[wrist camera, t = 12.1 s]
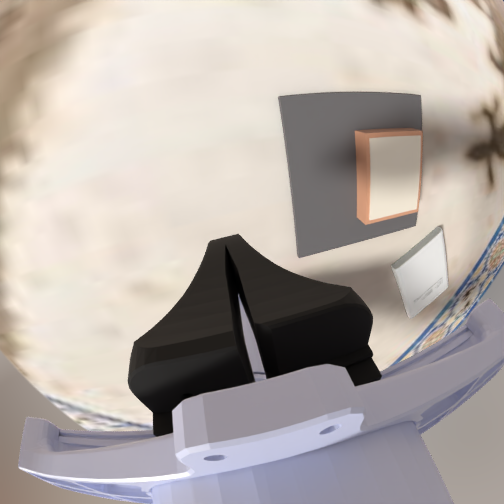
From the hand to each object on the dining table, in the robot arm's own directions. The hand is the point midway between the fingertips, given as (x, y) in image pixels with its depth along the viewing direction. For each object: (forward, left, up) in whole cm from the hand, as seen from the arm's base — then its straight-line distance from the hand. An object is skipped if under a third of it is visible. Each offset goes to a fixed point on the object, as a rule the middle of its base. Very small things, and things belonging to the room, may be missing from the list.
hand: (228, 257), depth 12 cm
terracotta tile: (-1, -12, -9) cm, 15 cm away
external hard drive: (-17, -24, -11) cm, 31 cm away
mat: (-1, -13, -10) cm, 16 cm away
